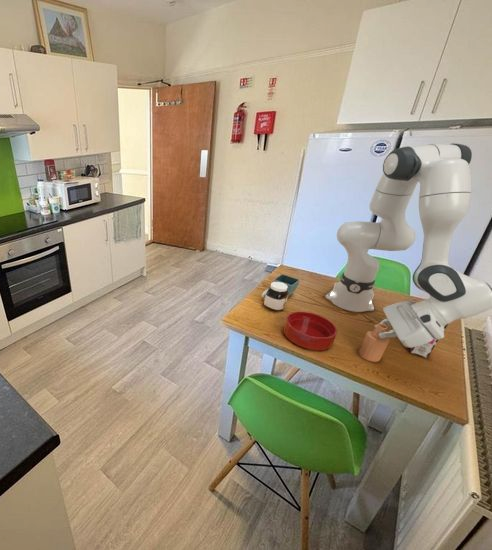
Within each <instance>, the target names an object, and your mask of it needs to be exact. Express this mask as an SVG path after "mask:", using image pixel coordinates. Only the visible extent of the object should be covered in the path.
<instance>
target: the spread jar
mask: <svg viewBox="0 0 492 550" xmlns="http://www.w3.org/2000/svg"><path fill="white" fill-rule="evenodd" d="M287 288H288V286H287V285H286V284H284V283H281V282H274V281H273V282H271V283H270V287H268V289H265V290H264V291H263V292H262V294H261V297H262V299H263V305H264V306H265V308H267V309H268V310H270V311H272V312H280V311H283V309H284V308H285V306H286V305H287V302H288V298H289V297H288V290H287Z"/></svg>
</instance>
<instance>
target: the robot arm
mask: <svg viewBox="0 0 492 550" xmlns="http://www.w3.org/2000/svg"><path fill="white" fill-rule="evenodd" d="M472 158H473V153H472V149H471V148H470V146H468V145H466V144H462V143H454V142H453V143H428V144H422V145H421V144H420V145H415V146H414V145H413V146H407V145H406V146H402V147H398V148H395V149H393V150H392V151H390V152H389V153H388V154H387V156H386V157H385V159H384V160H383V164H382V172H383V174H382V175H381V177H380V179H379V182H378V183H377V185H376V188H375V189H374V192H373V195H372V197H371V200H370V203H369V205H368V206H369V211H370V212H371V213H372V214H374V215H375V216H377V217H378V218H381V220H380V222H375V221H374V222H373V221H359V220H357V221H347V222H344V223H342V224H341V225H340V226H339V228H338V229H337V232H336V240H337V242H338V243H339V244H340V245H341V246H342V247H343V248H344V249H345V251H346V253H347V261H346V266H345V269H344V271H343V273H342V275H341V276H340V279H339V281H335V282H334V284H333V288H332V289H331V290H330V291H329V292H328V293H327V294H326V295H325V297H324V298H325V299H326V300H328V301H330V302H331V303H332V304H333V305H334V306H336V307H338V308H340V309H342V310H346V311H349V312H353V313H354V312H356V313H363V312H374V311H375V307H374V304H373V300H374V296H375V293H374V290H373V288H374V286H375V282H376V280H375V279H376V277H377V274H378V271H379V269H380V266H381V264H380V261H379V260H378V259H377V258H376V257H374V256H372V255H371V254H369V253H368V252H369V250H377V251H385V252H386V251H387V252H400V251H406V250H408V249H409V248H411V247H412V246H413V245H414V243H415V241H416V237H417V236H416V232H415V230H414V228H413V227H411V226H410V225H409V224H408V221H407V220H406V211H407V208H408V205H409V203H410V201H411V198H412V196H413V194H414V192H415V189H416V187H417V186H418V185H417V184H420V185H419V193H418V213H419V218H420V219H419V220H420V224H421V228H422V232H423V242H422V243H423V244H422V252H421V260H420V263H419V265H418V266H417V268H416V269H415V270H414V271H413V274H412V283H413V284H414V286H415V287H416V288H417V289H419V290H420V291H423V292H425V293H427V294H428V295H429V296H430V297H429V298H426V299H423V300H420V301H418V302H416V301H414V300H404V301H403V300H402V301H399V302H395V303H391V304H389V305H386V306H384V307H383V308H382V312H383V313H384V315H385V317H386V318H385V319H383V320H382V321H381V322H379V323H377V324H375V325H374V328H375V329H376V327H377V325H378V324H384V325H386V326H387V327H389V326H391V328H392V329H389V331H386V332H384V331H381V332H378V335H379V337H380V338H382V339H383V338H386V337H388V338H396V337H397V339H398V340H399V341H400V343H401V344H402V345H403V346H404V348H410V349H411V348H412V347H416V346H419V345H423V344H426V343H428V342H431V341H432V340H433V337H434V338H435V339H437V340H438V339H439V340H441V339H444V338H445V330H444V325H447V324H448V325H449V324H452V323H453V322H455V321H457V320H463V319H468V318H471V317H474V316H477V315H480V314H482V313H484V312H487V311H490V310H491V309H492V287H491V285H490V284H489V283H488V282H486V281H484V280H479V279H476V278H474V277H471V276H469V275H466V274H465V273H463V272H460V271H459V270H457V269H455V268H454V267H452V266H450V265H451V264H450V262H449V261H450V251H451V242H452V236H453V234H454V232H455V230H456V228H457V227H458V226H459V225H460V223H461V222H462V221H463V220H464V219H465V217H466V215H467V213H468V210H469V207H470V204H471V198H472V172H471V167H470V164H471V161H472ZM431 304H432V305H431ZM436 310H437V311H436ZM440 315H441V316H440ZM445 321H446V322H445ZM448 325H447V326H448ZM439 340H438V341H439Z"/></svg>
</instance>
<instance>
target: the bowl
mask: <svg viewBox="0 0 492 550" xmlns="http://www.w3.org/2000/svg"><path fill="white" fill-rule="evenodd" d="M283 334H284V335H285V337H286V338H287V339H288V340H289V342H291V343H293V344H295V345H296V346H298V347H301V348H304V349H306V350H311V351H325V350H329V349H330V348H332V347H333V345H334V342H335V339H336V337H337V334H338V328H337V326H336V325H335V324H334V323H333V322H332V321H331V320H329V319H328V318H326V317H325V316H323V315H320V314H317V313H314V312H310V311H293V312H290V313H288V314H287V316H286V318H285V321H284V325H283Z"/></svg>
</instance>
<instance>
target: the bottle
mask: <svg viewBox="0 0 492 550" xmlns="http://www.w3.org/2000/svg"><path fill="white" fill-rule="evenodd" d="M377 324H378V325H377ZM377 324H376V325H377V327H376V328H375V329H374V330H368V331H367V332H366V334H365V337H364V339H363V341H362V343H361V346H360V348H359V350H358V354H359V356H360V357H361V358H363V359H364V360H366V361H368V362H374V363H377V362H379V361H381V359H382V357H383V355H384V352H385V351H386V348H387V347H388V344H389V343H390V337H386V338H383V339H382V338H380V337H379V335H378V332H381V331H384V332H388V329H389V326H388V325H387V326H386V325H384V324H379V323H377Z"/></svg>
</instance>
